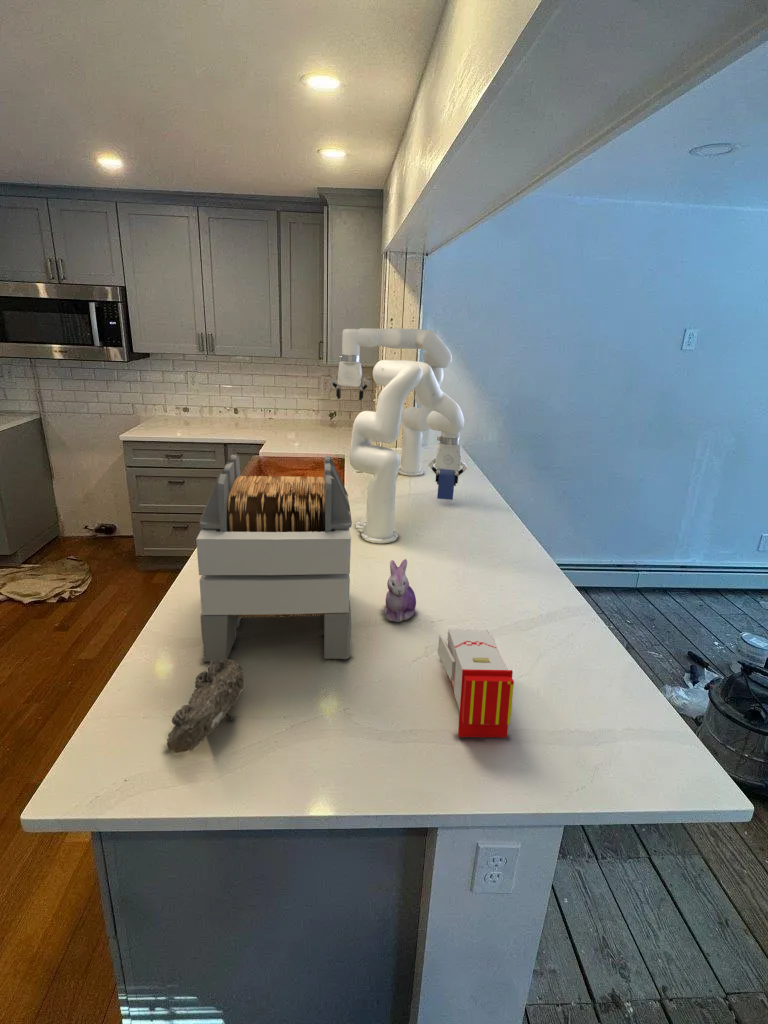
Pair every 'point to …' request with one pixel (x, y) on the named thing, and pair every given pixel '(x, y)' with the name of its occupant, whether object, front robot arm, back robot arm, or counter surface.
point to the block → (446, 484)
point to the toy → (478, 682)
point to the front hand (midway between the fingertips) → (446, 483)
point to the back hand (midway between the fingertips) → (349, 399)
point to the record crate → (275, 555)
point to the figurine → (399, 594)
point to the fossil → (206, 705)
